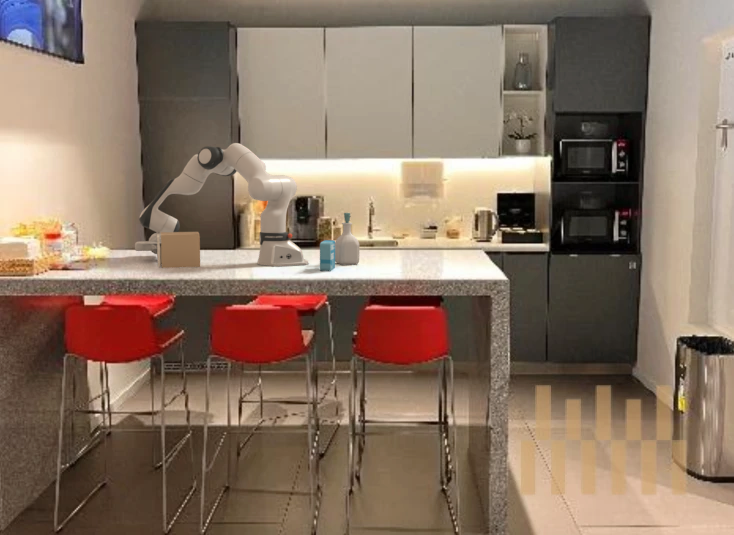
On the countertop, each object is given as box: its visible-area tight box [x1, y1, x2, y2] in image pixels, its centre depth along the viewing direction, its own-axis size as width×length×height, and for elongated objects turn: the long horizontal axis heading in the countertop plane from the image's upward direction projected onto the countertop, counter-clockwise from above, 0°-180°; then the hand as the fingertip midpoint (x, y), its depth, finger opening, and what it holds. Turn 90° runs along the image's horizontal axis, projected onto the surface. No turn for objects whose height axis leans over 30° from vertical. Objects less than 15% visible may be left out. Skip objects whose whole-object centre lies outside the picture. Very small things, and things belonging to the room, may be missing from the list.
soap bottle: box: [335, 212, 360, 266], centre depth 361 cm, size 10×10×23 cm
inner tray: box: [156, 234, 162, 268], centre depth 354 cm, size 16×17×13 cm
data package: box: [319, 239, 336, 272], centre depth 344 cm, size 12×4×12 cm, turn 173°
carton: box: [161, 231, 201, 269], centre depth 352 cm, size 16×12×14 cm
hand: (158, 247), depth 357 cm, fingers closed on inner tray
